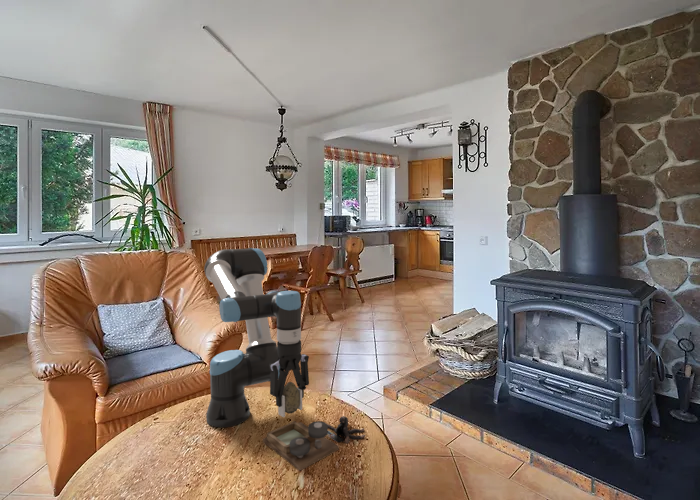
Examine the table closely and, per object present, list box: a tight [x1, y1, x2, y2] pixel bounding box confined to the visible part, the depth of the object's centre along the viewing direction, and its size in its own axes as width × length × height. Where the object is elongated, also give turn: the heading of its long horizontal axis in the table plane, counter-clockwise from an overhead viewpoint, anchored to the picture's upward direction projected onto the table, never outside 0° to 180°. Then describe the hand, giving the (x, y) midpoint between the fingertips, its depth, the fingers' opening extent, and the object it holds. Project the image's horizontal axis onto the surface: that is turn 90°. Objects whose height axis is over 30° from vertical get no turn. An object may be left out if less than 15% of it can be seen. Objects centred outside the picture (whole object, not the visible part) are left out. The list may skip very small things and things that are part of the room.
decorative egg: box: [283, 381, 300, 415], centre depth 125 cm, size 6×6×10 cm
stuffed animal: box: [326, 415, 366, 444], centre depth 133 cm, size 12×10×12 cm
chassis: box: [262, 420, 340, 471], centre depth 125 cm, size 20×15×6 cm
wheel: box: [307, 420, 329, 438], centre depth 122 cm, size 6×6×3 cm
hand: (290, 411), depth 126 cm, fingers closed on decorative egg, 6 cm apart
